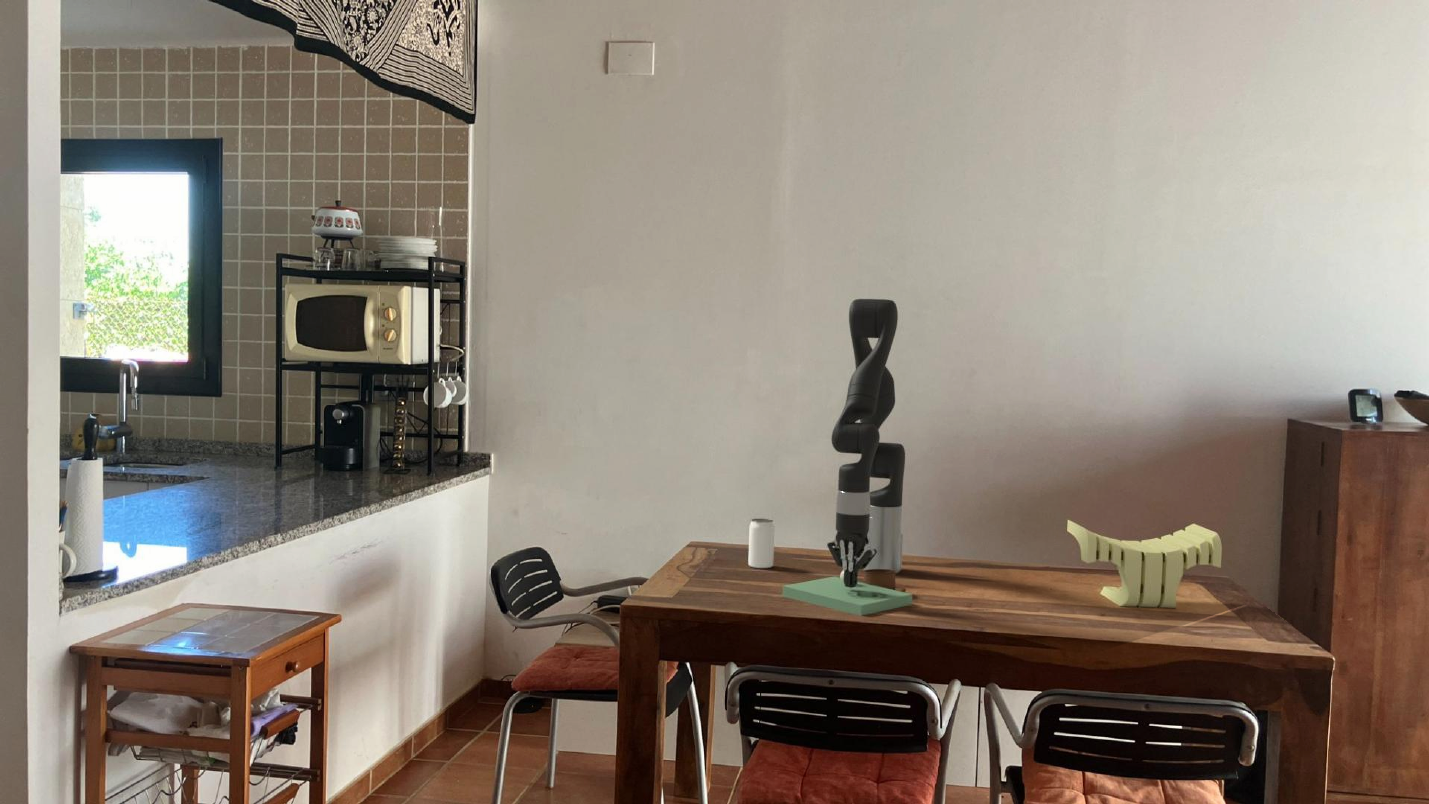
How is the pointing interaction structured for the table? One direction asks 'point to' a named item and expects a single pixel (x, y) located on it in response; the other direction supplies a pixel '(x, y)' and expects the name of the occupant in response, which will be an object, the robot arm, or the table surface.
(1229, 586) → the table surface
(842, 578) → the ball
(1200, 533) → the slatted curved stool
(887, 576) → the brown cylindrical stub
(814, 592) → the green
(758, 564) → the can
